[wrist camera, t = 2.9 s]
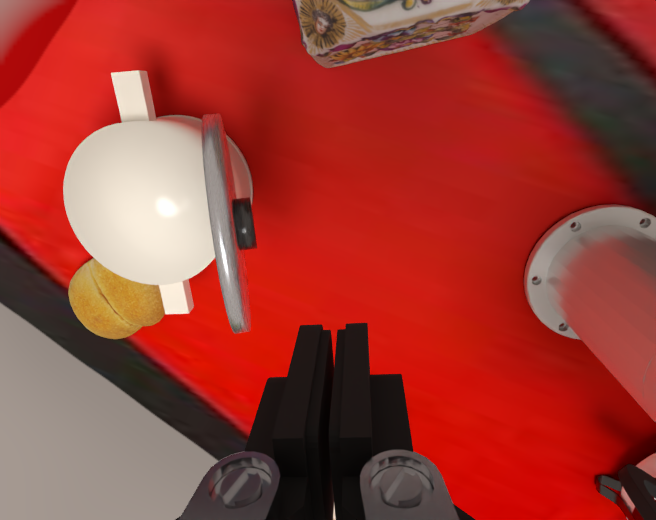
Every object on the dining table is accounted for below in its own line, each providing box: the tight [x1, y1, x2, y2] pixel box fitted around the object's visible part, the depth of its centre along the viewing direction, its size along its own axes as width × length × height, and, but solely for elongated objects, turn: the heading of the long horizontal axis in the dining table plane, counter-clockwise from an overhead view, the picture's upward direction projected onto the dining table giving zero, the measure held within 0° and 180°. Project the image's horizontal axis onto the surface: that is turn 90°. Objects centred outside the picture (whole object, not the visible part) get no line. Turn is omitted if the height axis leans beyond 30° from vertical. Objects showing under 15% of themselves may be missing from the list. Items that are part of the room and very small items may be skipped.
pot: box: [63, 70, 253, 314], centre depth 36 cm, size 12×18×8 cm, turn 4°
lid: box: [202, 113, 257, 334], centre depth 26 cm, size 12×12×2 cm
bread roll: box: [68, 258, 165, 339], centre depth 42 cm, size 8×9×4 cm
